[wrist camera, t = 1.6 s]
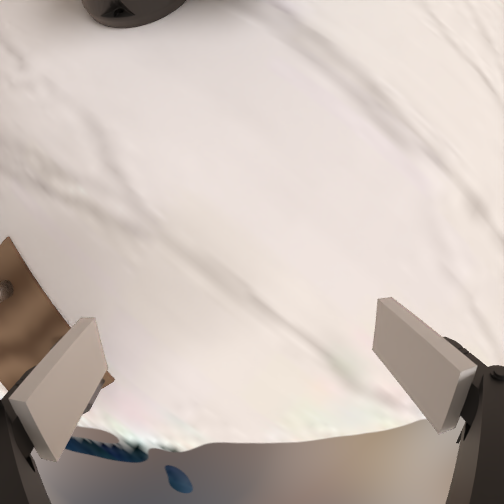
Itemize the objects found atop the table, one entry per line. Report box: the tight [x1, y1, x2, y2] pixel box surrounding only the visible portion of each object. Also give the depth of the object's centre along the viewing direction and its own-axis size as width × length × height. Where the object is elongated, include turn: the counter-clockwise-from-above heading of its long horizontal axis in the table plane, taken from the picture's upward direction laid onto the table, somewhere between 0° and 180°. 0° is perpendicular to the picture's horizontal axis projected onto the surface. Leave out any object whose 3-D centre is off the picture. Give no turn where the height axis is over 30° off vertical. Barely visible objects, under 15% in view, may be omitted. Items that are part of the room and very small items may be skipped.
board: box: [0, 237, 115, 391], centre depth 36 cm, size 24×21×1 cm
